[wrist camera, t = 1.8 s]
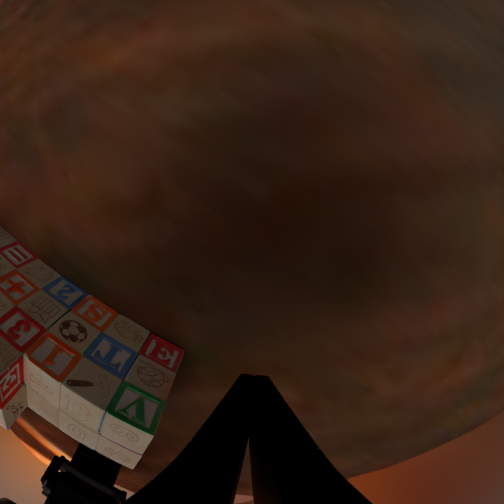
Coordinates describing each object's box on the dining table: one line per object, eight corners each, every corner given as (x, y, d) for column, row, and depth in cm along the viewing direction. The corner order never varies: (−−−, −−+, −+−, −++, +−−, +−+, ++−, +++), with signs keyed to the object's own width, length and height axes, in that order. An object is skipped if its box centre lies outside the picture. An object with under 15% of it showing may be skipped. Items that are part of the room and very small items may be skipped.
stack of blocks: (188, 347, 22) (143, 479, 10) (163, 392, 24) (122, 503, 12) (-1, 224, 19) (-97, 266, 8) (-6, 276, 21) (-85, 329, 9)
